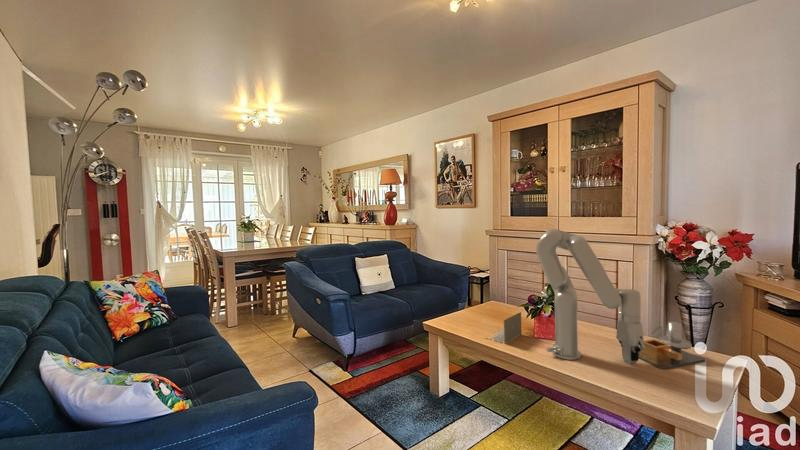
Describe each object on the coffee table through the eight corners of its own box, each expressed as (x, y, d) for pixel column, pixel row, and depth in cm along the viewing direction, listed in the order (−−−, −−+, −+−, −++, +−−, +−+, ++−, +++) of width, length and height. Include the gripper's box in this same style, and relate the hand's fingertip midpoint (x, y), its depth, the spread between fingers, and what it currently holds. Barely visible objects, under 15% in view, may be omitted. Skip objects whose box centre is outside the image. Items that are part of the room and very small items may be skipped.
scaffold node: (666, 371, 146) (666, 336, 145) (625, 352, 165) (625, 321, 164) (710, 363, 151) (710, 329, 151) (665, 345, 171) (665, 315, 170)
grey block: (630, 365, 152) (630, 345, 152) (622, 361, 156) (622, 342, 156) (637, 364, 153) (637, 344, 153) (629, 360, 157) (629, 340, 157)
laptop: (501, 329, 202) (500, 307, 201) (521, 335, 193) (521, 312, 192) (484, 338, 189) (483, 315, 189) (505, 345, 180) (504, 320, 180)
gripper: (607, 313, 161) (607, 351, 162) (640, 324, 145) (640, 367, 146) (621, 311, 163) (621, 349, 164) (654, 322, 146) (654, 365, 147)
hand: (630, 357), depth 155 cm, fingers closed on grey block, 4 cm apart
